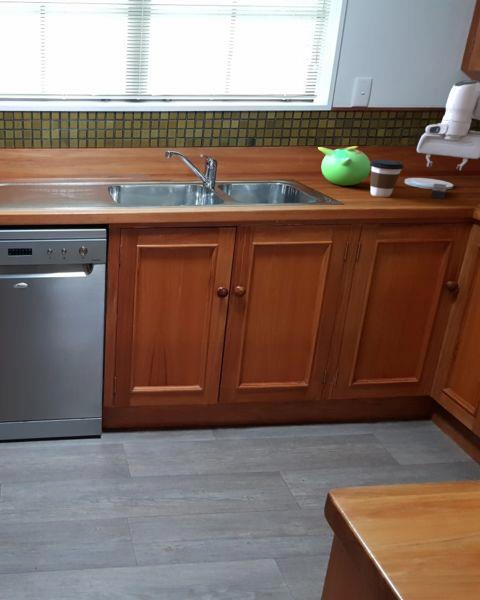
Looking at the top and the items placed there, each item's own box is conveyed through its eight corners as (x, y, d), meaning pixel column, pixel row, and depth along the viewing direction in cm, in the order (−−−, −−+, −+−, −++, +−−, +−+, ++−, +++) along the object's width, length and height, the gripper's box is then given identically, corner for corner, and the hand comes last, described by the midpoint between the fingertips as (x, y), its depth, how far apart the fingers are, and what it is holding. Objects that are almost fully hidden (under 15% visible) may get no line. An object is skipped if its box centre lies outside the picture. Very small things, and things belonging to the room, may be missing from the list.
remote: (432, 190, 230) (434, 182, 228) (444, 192, 228) (446, 184, 226) (430, 197, 218) (432, 189, 217) (443, 199, 217) (445, 190, 215)
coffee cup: (397, 194, 222) (405, 161, 218) (395, 200, 213) (403, 166, 209) (365, 190, 227) (372, 158, 222) (362, 196, 218) (369, 162, 213)
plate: (453, 183, 242) (454, 180, 242) (452, 191, 229) (453, 188, 228) (406, 178, 250) (406, 175, 249) (402, 185, 236) (403, 182, 236)
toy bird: (375, 188, 231) (384, 148, 225) (343, 191, 224) (351, 151, 218) (338, 178, 246) (345, 141, 240) (307, 181, 239) (314, 143, 233)
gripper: (488, 131, 212) (476, 170, 217) (423, 125, 221) (413, 163, 227) (488, 133, 207) (476, 173, 212) (421, 127, 216) (412, 166, 222)
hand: (443, 168), depth 220 cm, fingers open, 8 cm apart
